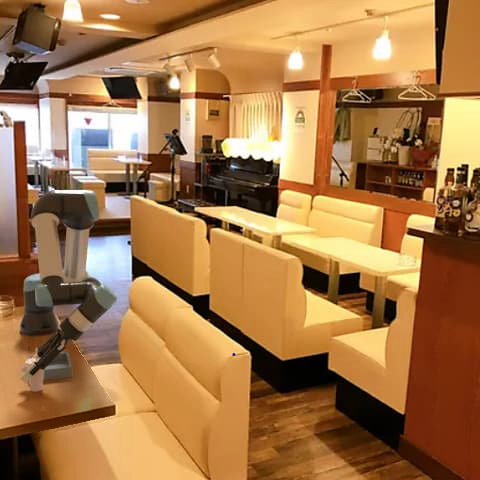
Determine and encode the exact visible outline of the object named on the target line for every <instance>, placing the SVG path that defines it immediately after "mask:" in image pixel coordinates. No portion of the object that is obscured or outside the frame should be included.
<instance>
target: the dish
mask: <svg viewBox="0 0 480 480" xmlns="http://www.w3.org/2000/svg"><path fill="white" fill-rule="evenodd" d="M34 355H35V354H32V355H31V354H30V355H28V357H27V358H28V359H31V358H32V357H33V356H34ZM28 359H27V360H28ZM70 377H71V378H72V377H73V365H72V361H71V358H70V353H69V352H68V351H64V352H63V351H62V352H61V353H60V354H59V355H58V356H57V357H56V358H55V359H54V360H53V361H52V362H51V363H50V364H49V365H48V366H47V367H46V368H45V370H44V380H43V381H45V380H55V379H56V380H57V379H63V378H70Z"/></svg>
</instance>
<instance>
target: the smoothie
mask: <svg viewBox="0 0 480 480" xmlns="http://www.w3.org/2000/svg"><path fill="white" fill-rule="evenodd" d="M38 348H39V347H35V354H36V358H31V359H26V360H25V363H24V365H26V366H27V370H28V369H29V368H30V367H31V366H32V365H33V364H34V362H38V360H39V359H40V358H39V357H38ZM44 370H45V369H44ZM44 370H42V369H41V370H40V371H39V372H38V373H37V374H36V375H35V376H33V377H32V378H31V379H30V380H29V381H28V383H29V390H30V391H31V392H34V393H35V392H40V391H43V387H44V381H45V380H44Z"/></svg>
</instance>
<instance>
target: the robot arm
mask: <svg viewBox="0 0 480 480" xmlns="http://www.w3.org/2000/svg"><path fill="white" fill-rule="evenodd" d="M30 220H31V226H32V227H33V228H34V229H35V241H36V249H37V250H36V251H37V261H38V270H39V271H38V272H39V273H35V274H31V275H28V276H27V277H26V278H25V279H24V281H23V289H22V290H23V309H24V312H23V316H22V318H21V321H20V325H19V331H20V333H21V334H24V335H26V336H33V337H34V336H46V335H50V334H53V335H51V336H50V337H49V338H48V339H47V340H46V341H45V342H44V343H43V344H42V345H40V347H37V348H38V357H39V358H40V359H39V360H38V362H34V364H33V365H32V366H31V367H30V368H29V369H28V370H27V366H26V365H25V364H24V365H22V366H21V367H20V370H22V371H23V372H24V373H22V375H20V376H19V379H20V380H21V381H22V382H24V383H25V384H27V383H29V380H30V379H31V378H32V377H33V376H35V375H36V374H37V373H38V372H39V371H40V370H41V369H42V370H44V369H45V368H46V367H47V366H48V365H49V364H50V363H51V362H52V361H53V360H54V359H55V358H56V357H57V356H58V355H59V354H60V353H62V352H63V351H64V350H66V346H67V344H68V341H69V340H71V341H75V342H76V341H77V340H79V339H80V338H81V337H82V336H83V335H84V332H87V330H89V329H90V328H93V326H94V324H95V323H97V321H98V320H99V319H100V318H101V317H103V315H104V314H105V313H106V312H108V310H110V309H111V308H112V307H113V306H114V304H116V302H117V301H118V298H117V297H118V296H117V295H116V294H115V292H114V291H113V290H111V289H110V288H109V287H108V286H106V285H105V284H102V283H101V281H99V280H98V279H97V278H95V277H92V276H91V275H89V272H88V271H87V270H86V268H87V258H88V248H89V237H90V229H92V228H93V227H94V226H95V225H94V224H95V222H97V221H99V220H100V206H99V200H98V196H97V193H96V192H95V191H94V190H88V189H87V190H86V189H82V190H79V189H78V190H76V189H75V190H71V189H69V190H66V189H65V190H63V189H62V190H61V189H60V190H59V189H54V190H49V191H47V192H44V193H43V194H42V195H41V196H40V197H39V198H38V199H37V200H36V201H35V203H34V206H33V207H32V210H31V215H30ZM60 222H62V223H63V225H64V226H65V227H66V231H65V232H66V234H65V237H66V238H65V251H64V266H63V264H62V255H61V247H60V238H59V232H58V225H59V224H60ZM67 305H69V306H71V305H78V306H77V307H76V308H75V309H73V311H72V312H71V313H70V314H69V315H68V317H66V318H65V319H63V321H62V322H61V323H60V324H59V322H58V319H57V316H56V313H55V307H57V306H67ZM33 355H34V356H33V357H32V358H36V353H35V354H33Z"/></svg>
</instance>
